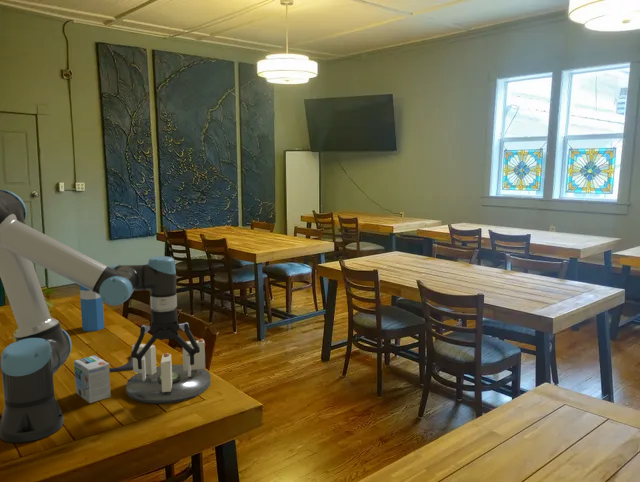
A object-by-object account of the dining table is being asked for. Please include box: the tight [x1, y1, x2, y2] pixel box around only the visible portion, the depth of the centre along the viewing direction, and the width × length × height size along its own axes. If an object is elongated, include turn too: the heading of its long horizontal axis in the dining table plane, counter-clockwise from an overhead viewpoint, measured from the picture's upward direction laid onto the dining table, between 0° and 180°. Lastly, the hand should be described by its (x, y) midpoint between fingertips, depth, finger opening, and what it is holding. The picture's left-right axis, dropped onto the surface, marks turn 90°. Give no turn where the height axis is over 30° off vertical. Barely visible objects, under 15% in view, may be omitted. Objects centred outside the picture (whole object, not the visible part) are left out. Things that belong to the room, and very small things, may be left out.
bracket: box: [109, 350, 133, 373], centre depth 187 cm, size 14×15×3 cm
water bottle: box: [79, 285, 105, 332], centre depth 225 cm, size 9×9×25 cm
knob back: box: [131, 342, 157, 376], centre depth 169 cm, size 7×3×11 cm, turn 73°
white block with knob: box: [160, 352, 173, 392], centre depth 158 cm, size 7×3×11 cm, turn 13°
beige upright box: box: [182, 338, 206, 373], centre depth 172 cm, size 7×3×11 cm, turn 107°
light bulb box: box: [73, 355, 112, 404], centre depth 160 cm, size 11×7×11 cm, turn 47°
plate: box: [125, 364, 211, 405], centre depth 167 cm, size 26×26×4 cm
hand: (167, 376), depth 158 cm, fingers open, 12 cm apart
